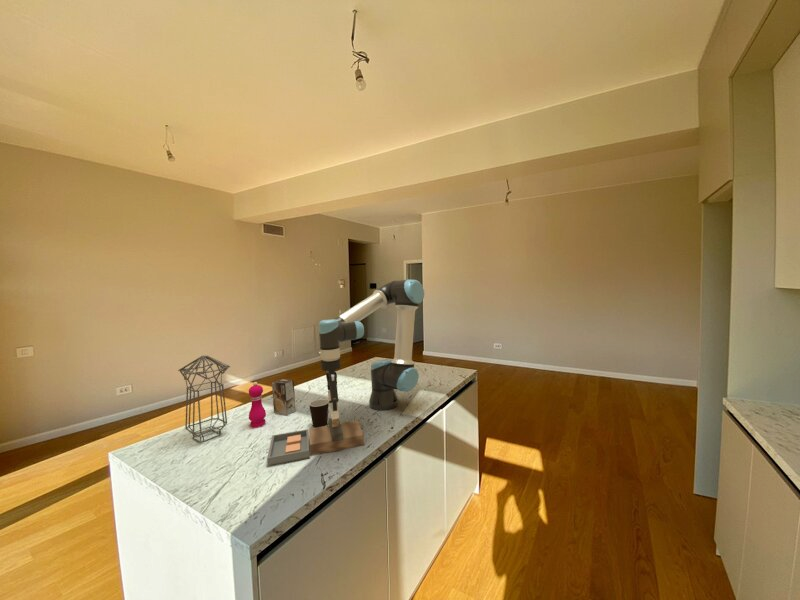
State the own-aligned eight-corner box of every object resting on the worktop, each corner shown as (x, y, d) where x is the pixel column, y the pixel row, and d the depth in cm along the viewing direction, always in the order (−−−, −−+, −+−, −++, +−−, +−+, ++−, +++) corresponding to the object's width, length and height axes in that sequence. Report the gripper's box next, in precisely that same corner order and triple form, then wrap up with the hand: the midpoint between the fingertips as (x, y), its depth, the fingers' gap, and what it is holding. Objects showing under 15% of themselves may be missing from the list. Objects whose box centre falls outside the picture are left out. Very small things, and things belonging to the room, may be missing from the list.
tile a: (287, 436, 122) (287, 441, 122) (286, 442, 117) (287, 447, 117) (300, 434, 124) (301, 439, 124) (300, 440, 119) (300, 445, 119)
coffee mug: (324, 429, 133) (323, 406, 133) (306, 428, 135) (305, 406, 134) (335, 418, 144) (334, 397, 144) (318, 417, 146) (317, 396, 146)
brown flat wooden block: (357, 429, 131) (357, 420, 131) (364, 444, 118) (363, 434, 118) (309, 438, 125) (309, 428, 125) (310, 455, 112) (309, 444, 112)
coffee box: (296, 410, 156) (294, 379, 155) (287, 415, 150) (285, 383, 149) (282, 408, 159) (280, 378, 159) (273, 413, 153) (271, 382, 153)
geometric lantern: (179, 439, 130) (175, 357, 130) (219, 426, 142) (216, 351, 142) (193, 449, 120) (189, 360, 120) (235, 434, 133) (231, 353, 133)
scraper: (338, 422, 130) (336, 389, 129) (343, 439, 115) (341, 401, 114) (328, 424, 129) (327, 390, 128) (332, 441, 113) (330, 403, 113)
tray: (308, 436, 127) (308, 429, 127) (309, 458, 110) (309, 450, 110) (272, 442, 123) (272, 435, 123) (267, 466, 106) (267, 458, 106)
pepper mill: (269, 422, 143) (267, 380, 142) (258, 429, 136) (255, 384, 135) (257, 420, 145) (255, 379, 145) (245, 427, 138) (242, 384, 138)
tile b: (286, 445, 115) (286, 450, 115) (285, 452, 110) (285, 457, 110) (300, 443, 117) (300, 448, 117) (300, 449, 112) (300, 454, 112)
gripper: (319, 353, 131) (322, 402, 132) (322, 367, 108) (326, 426, 108) (336, 352, 134) (339, 399, 134) (344, 365, 110) (347, 422, 111)
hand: (333, 411), depth 121 cm, fingers open, 13 cm apart
